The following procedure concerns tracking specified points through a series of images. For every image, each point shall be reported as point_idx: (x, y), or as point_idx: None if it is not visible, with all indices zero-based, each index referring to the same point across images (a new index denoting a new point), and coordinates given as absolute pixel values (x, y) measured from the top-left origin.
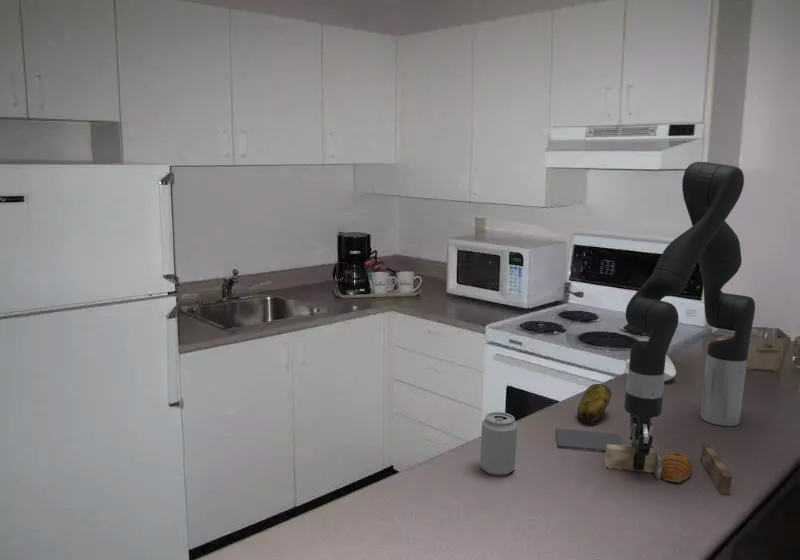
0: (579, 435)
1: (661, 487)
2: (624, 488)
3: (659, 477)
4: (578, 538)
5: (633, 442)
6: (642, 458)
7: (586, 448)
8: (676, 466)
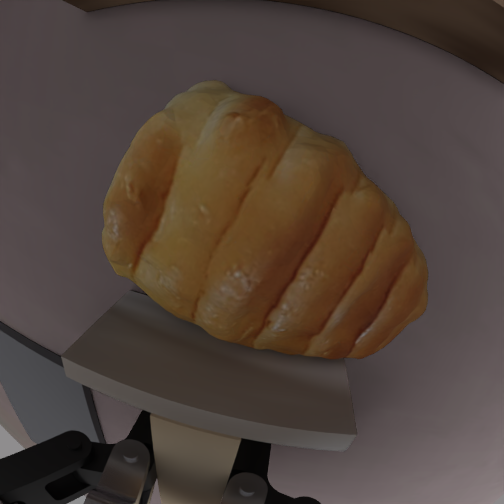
0: (37, 423)
1: (418, 362)
2: (382, 462)
3: None
4: (489, 495)
5: (149, 498)
6: (267, 468)
7: None
8: (362, 294)
